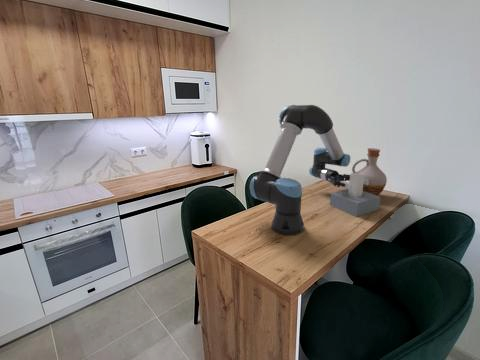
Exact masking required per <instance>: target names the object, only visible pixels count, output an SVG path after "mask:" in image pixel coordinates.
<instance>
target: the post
mask: <svg viewBox="0 0 480 360" xmlns="http://www.w3.org/2000/svg"><path fill="white" fill-rule="evenodd" d="M355 172H356V173H353V172H352V173H350V174H349V175H350V181H348V183H349V184H351V189H349V191H348V195H350V196H352V197H355V198H357V197H361V196H362V191H363V183H364V175H365V174H361V173H357V172H358V171H355Z"/></svg>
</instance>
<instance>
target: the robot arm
mask: <svg viewBox="0 0 480 360" xmlns="http://www.w3.org/2000/svg"><path fill="white" fill-rule="evenodd" d="M278 120H279V121H278V122H279V125H280V126H279V128H280V129H281V130H280V132H279V135H278V137H277V140H276V141H275V144H274V147H273V148H272V151H271V153H270V156H269V158H268V161H267V162H266V165H265V167H264V169H261V170H260V171H259V173H258V175H255V176H253V177H252V178H251V180H250V182H249V183H250V184H249V191H250V194H251V196H252V197H253V198H254V199H257V200H259V201H262V202H266V203H268V204H272V205H274V206H275V212H274V216H273V218H272V221H271V229H272V230H273V231H274V232H275V233H277V234H280V235H285V236H295V235H299V234H300V233H302V232H303V231H304V228H305V224H304V221H303V217H302V213H301V210H302V194H303V191H302V184H301V183H300V182H299V181H298V180H296V179H294V178H289V177H288V178H287V177H281V175H282V172H283V170H284V168H285V165H286V162H287V160H288V159H289V158H288V157H289V156H290V153H291V150H292V149H293V145H294V143H295V141H296V138H297V136H299V135H301V134H302V131H303V130H304V129H308V130H309V129H310V130H313V131H314V132H315V134H316V135H318V136H319V137H320V140H321V141H322V143H323V145H324V147H316V148H314V150H313V164H312V165H311V166H309V167H310V168H309V169H308V172H309V175H310V176H312V177H314V178H317V179H320V180H323V181H325V182H329V183H331V184H332V185H333V186H334V187H337V188H340V187H341V188H345V189H351V184H349V182H350V174H346V173H343V174H340V173H339V171H337V170H333V169H331V168H327V167H326V165H330V166H338V167H345V168H346V167H348V166H349V165H350V163H351V155H350V154H349V153H345V152H344V151H343V148H342V146H341V144H340V142H339V139H338V137H337V135H336V133H335V130H334V123H333V120H332V118H331V117H330V115H329V114H328V113H327V112H326V111H325V110H324V109H323V108H321V107H319V106H318V105H316V104H315V105H314V104H304V105H303V104H301V105H300V104H299V105H296V104H292V105H286V106H284V107H283V108H282V110H281V112H280V113H279V119H278ZM368 183H369V180H366V179H364V183H363V184H365V185H368Z"/></svg>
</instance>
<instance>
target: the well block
mask: <svg viewBox="0 0 480 360" xmlns="http://www.w3.org/2000/svg"><path fill="white" fill-rule="evenodd" d="M348 191H349V189H348V188H345V189H342V190H337V191H333V192H331V193H330V201H329V205H330V206H331V207H333V208H336V209H338V210H339V211H342V212H345V213H346V214H349V215H352V216H354V217H359V216H363V215H366V214H368V213H372V212H375V211H378V210H380V204H381V196H379V195H378V196H377V195H374V194H371V193H368V192H365V191H362V196H361V197H357V198H355V197H352V196H350V195H348Z"/></svg>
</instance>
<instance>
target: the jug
mask: <svg viewBox="0 0 480 360" xmlns="http://www.w3.org/2000/svg"><path fill="white" fill-rule="evenodd" d="M380 152H381V149H380V148H373V147H372V148H371V147H368V148H367V153H366V155H367V158H368V159H367V158H361V159H359V160H357V161H356V162H355V163H353V164H352V168H351V171H352V173H356V172H357V173H361V174H365V175H364V179H366V180H369V183H368V185H365V184H363V191H365V192H368V193H371V194H374V195H377V196H379V195H380V194H381V193H382V192H383V191H384V189H385V187H386V185H387V183H388V182H387V181H388V179H387V176H386V174H385V173H384V171H383V170H381V169H380V168H379V166H378V165H377V162H378V159H379V157H380ZM361 162H366V165H365V166H364V167H362V168H361V169H359V170H358V171H356V170H355V168H356V166H357V165H358V164H360V163H361Z"/></svg>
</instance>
